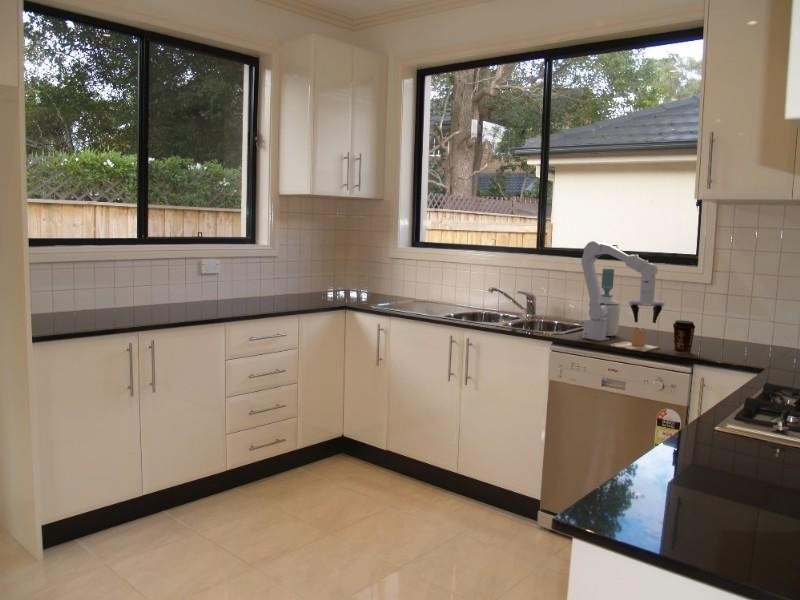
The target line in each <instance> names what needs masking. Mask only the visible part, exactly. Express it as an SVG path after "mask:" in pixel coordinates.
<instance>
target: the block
mask: <svg viewBox="0 0 800 600" xmlns="http://www.w3.org/2000/svg"><path fill="white" fill-rule="evenodd" d="M646 330H647V329H646V328H645V327H638V326H636V327H632V331H631V342H632V343H631V345H635V346H644V345H646V332H647V331H646Z"/></svg>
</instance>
